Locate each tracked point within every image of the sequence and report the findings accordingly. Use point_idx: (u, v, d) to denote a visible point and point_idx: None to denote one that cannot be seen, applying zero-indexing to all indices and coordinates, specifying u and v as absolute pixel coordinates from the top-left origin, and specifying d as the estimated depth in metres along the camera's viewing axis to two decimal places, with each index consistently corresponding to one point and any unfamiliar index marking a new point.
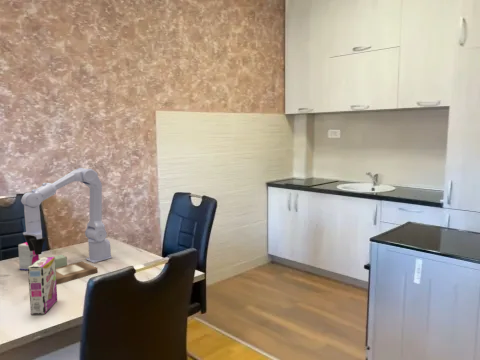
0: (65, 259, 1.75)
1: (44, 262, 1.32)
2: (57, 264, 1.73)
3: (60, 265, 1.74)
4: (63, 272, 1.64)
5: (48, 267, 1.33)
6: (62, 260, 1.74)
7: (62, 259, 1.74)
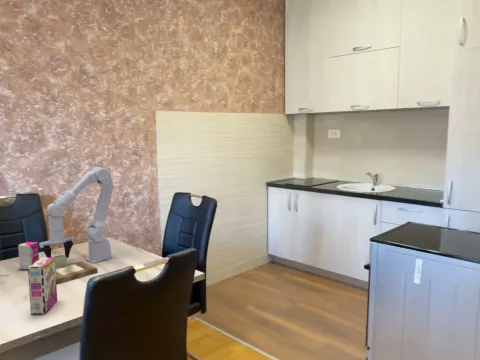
0: (65, 259, 1.75)
1: (44, 262, 1.32)
2: (57, 264, 1.73)
3: (60, 265, 1.74)
4: (63, 272, 1.64)
5: (48, 267, 1.33)
6: (62, 260, 1.74)
7: (62, 259, 1.74)
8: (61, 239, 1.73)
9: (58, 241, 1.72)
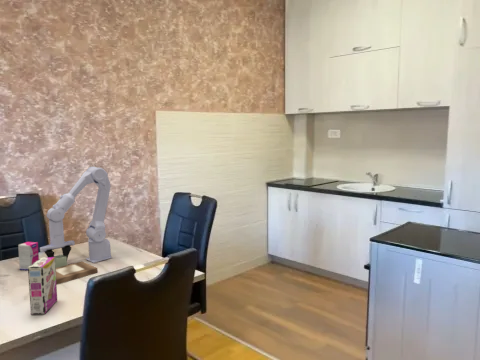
0: (65, 259, 1.75)
1: (44, 262, 1.32)
2: (57, 264, 1.73)
3: (60, 265, 1.74)
4: (63, 272, 1.64)
5: (48, 267, 1.33)
6: (62, 260, 1.74)
7: (62, 259, 1.74)
8: (61, 243, 1.73)
9: (58, 245, 1.72)
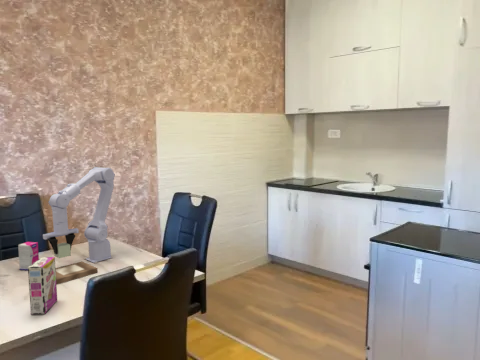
0: (69, 247, 1.70)
1: (44, 262, 1.32)
2: (60, 252, 1.68)
3: (63, 253, 1.69)
4: (63, 272, 1.64)
5: (48, 267, 1.33)
6: (66, 247, 1.69)
7: (65, 247, 1.69)
8: (65, 231, 1.68)
9: (62, 233, 1.67)
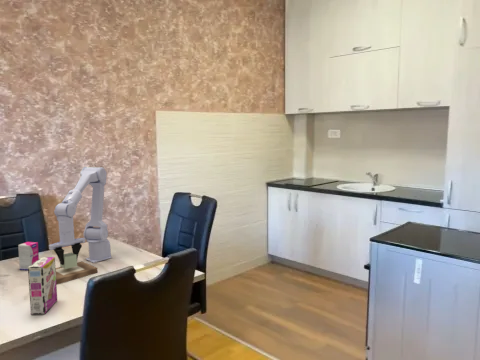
0: (75, 257, 1.66)
1: (44, 262, 1.32)
2: (66, 262, 1.63)
3: (70, 263, 1.64)
4: (63, 272, 1.64)
5: (48, 267, 1.33)
6: (72, 258, 1.65)
7: (72, 257, 1.65)
8: (71, 241, 1.64)
9: (68, 243, 1.63)
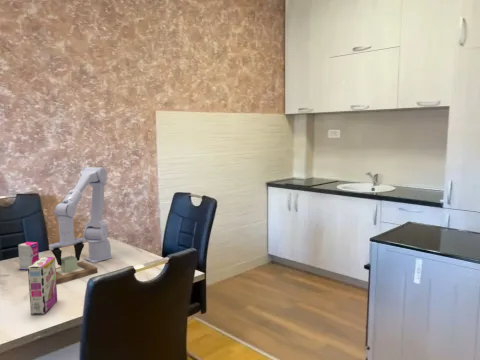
0: (75, 260, 1.66)
1: (44, 262, 1.32)
2: (67, 266, 1.63)
3: (70, 267, 1.65)
4: (63, 272, 1.64)
5: (48, 267, 1.33)
6: (73, 261, 1.65)
7: (72, 260, 1.65)
8: (71, 241, 1.64)
9: (68, 243, 1.63)
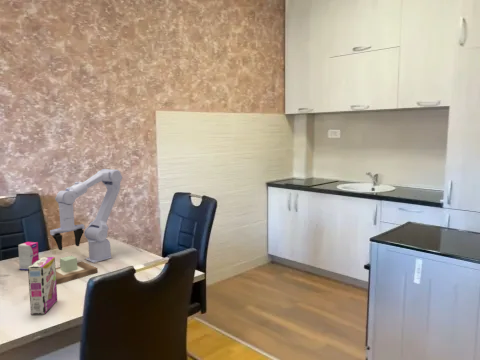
0: (75, 260, 1.66)
1: (44, 262, 1.32)
2: (67, 266, 1.63)
3: (70, 267, 1.65)
4: (63, 272, 1.64)
5: (48, 267, 1.33)
6: (73, 261, 1.65)
7: (72, 260, 1.65)
8: (72, 226, 1.71)
9: (69, 228, 1.70)
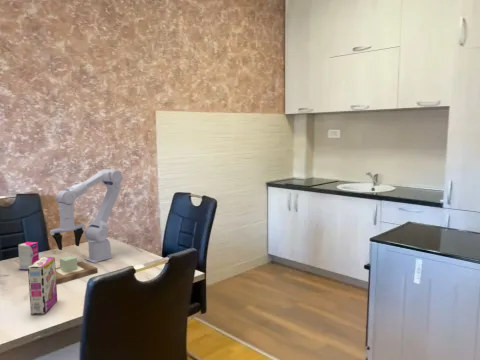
0: (75, 260, 1.66)
1: (44, 262, 1.32)
2: (67, 266, 1.63)
3: (70, 267, 1.65)
4: (63, 272, 1.64)
5: (48, 267, 1.33)
6: (73, 261, 1.65)
7: (72, 260, 1.65)
8: (72, 226, 1.72)
9: (69, 228, 1.70)
